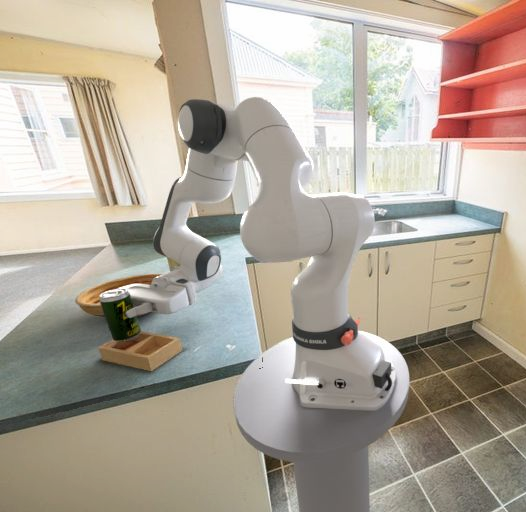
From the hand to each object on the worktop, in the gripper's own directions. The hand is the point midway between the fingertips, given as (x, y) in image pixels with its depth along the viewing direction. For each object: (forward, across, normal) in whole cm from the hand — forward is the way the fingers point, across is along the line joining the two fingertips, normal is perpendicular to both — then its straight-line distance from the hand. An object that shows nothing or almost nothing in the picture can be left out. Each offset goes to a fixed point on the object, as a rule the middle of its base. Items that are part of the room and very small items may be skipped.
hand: (115, 313), depth 70 cm
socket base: (-1, +4, +12) cm, 12 cm away
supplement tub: (-48, -33, +12) cm, 59 cm away
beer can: (-1, 0, +7) cm, 7 cm away
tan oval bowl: (-18, -22, +12) cm, 31 cm away
